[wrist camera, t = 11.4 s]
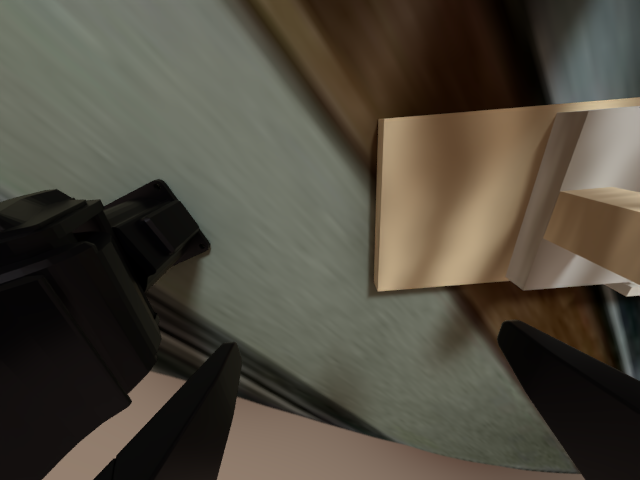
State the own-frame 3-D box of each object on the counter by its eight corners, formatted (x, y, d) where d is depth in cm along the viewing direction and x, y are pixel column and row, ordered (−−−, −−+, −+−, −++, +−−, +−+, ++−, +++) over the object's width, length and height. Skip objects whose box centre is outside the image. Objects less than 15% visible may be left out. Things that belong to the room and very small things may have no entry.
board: (373, 281, 23) (377, 291, 22) (378, 119, 17) (384, 118, 15) (591, 264, 23) (609, 272, 21) (675, 94, 17) (707, 91, 15)
